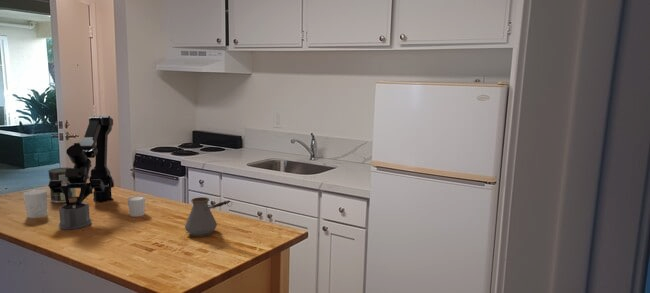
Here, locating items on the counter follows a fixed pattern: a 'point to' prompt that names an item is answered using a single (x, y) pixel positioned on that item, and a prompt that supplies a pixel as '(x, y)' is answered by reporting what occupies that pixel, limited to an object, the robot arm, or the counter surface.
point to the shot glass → (136, 206)
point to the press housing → (74, 216)
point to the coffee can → (60, 175)
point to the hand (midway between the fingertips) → (72, 205)
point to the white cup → (36, 203)
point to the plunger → (73, 201)
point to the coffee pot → (202, 217)
